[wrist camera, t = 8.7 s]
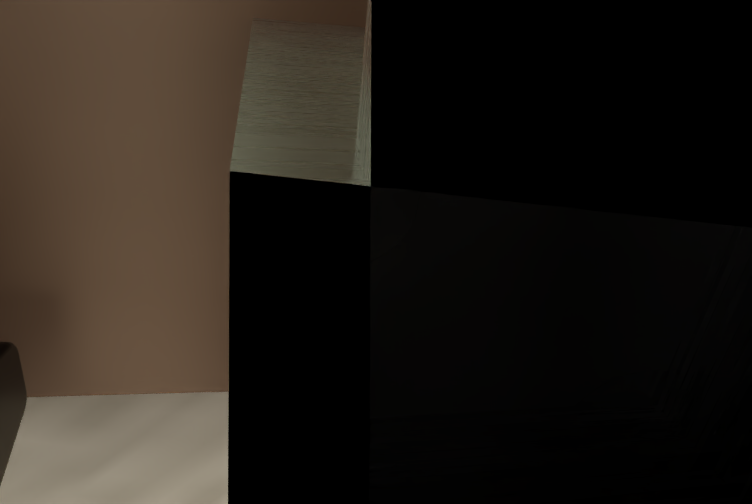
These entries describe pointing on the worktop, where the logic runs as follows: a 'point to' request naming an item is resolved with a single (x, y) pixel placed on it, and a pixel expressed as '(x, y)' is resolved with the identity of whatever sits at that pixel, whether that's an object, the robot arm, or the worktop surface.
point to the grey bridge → (497, 257)
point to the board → (131, 187)
